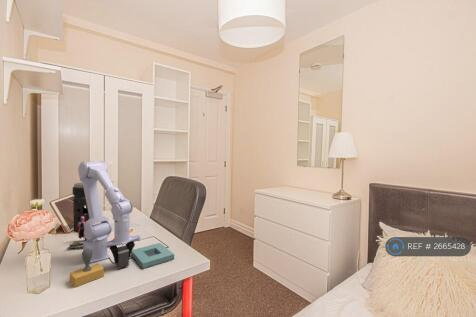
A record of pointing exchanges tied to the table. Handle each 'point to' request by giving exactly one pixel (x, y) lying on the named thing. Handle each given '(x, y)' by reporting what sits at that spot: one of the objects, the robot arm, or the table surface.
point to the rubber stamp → (86, 271)
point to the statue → (79, 243)
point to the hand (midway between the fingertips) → (121, 260)
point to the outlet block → (152, 255)
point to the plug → (123, 257)
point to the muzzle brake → (79, 205)
